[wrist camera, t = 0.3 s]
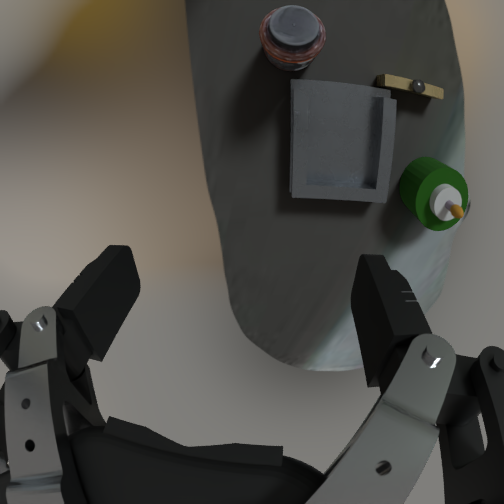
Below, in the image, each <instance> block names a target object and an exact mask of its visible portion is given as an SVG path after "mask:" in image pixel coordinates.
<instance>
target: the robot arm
mask: <svg viewBox="0 0 504 504" xmlns="http://www.w3.org/2000/svg"><path fill="white" fill-rule="evenodd" d="M139 293H140V279H139V275H138V272H137V268H136V265H135V261H134V258H133V254H132V251H131V248H130V247H129V246H124V245H109V246H108V247H107V248H106V249H105V250H104V251H103V252H102V253H101V254H100V256H99V257H98V258H97V259H95V260H94V261H92V262H91V263H89V264H88V265H87V266H86V267H85V268H84V270H82V272H81V273H80V276H79V275H78V276H77V277H76V279H75V280H74V283H71V284H70V286H69V287H68V288H67V289H66V290H65V292H64V293H63V294H62V295H61V297H60V298H59V299H58V300H57V302H56V303H55V304H54V306H53V307H48V306H45V307H40V308H37V309H35V310H33V311H32V312H31V313H30V314H28V316H27V317H26V318H25V320H24V321H23V322H13V320H12V319H11V317H10V315H9V314H8V312H7V311H5V310H0V358H1V360H2V361H3V362H4V364H6V366H7V367H8V368H9V370H10V371H8V372H7V373H6V377H5V382H4V384H3V386H2V388H1V390H0V504H404V502H405V500H406V499H407V497H408V496H409V494H410V492H411V490H412V489H413V487H414V485H415V483H416V482H417V480H418V478H419V476H420V474H421V472H422V470H423V468H424V467H425V465H426V463H427V461H428V458H429V457H430V454H431V452H432V450H433V448H434V445H435V443H436V441H437V438H438V437H439V444H440V451H441V459H442V467H443V479H444V494H445V504H504V350H502V349H500V348H499V347H495V346H489V347H486V348H485V349H483V351H482V352H481V353H480V355H479V356H478V358H473V357H466V356H461V355H457V354H455V351H454V349H453V348H452V346H451V345H450V344H449V343H448V342H447V341H446V340H445V339H444V338H442V337H440V336H437V335H434V334H432V332H431V330H430V327H429V325H428V323H427V321H426V318H425V316H424V314H423V312H422V309H421V307H420V305H419V303H418V302H417V301H416V300H417V299H416V297H415V295H414V293H412V289H411V287H410V285H409V283H408V281H407V279H405V278H404V277H403V276H402V275H401V274H400V273H399V272H398V271H397V270H391V269H390V267H389V265H388V263H387V261H386V259H385V257H384V256H383V255H370V254H362V255H361V256H360V258H359V261H358V266H357V270H356V275H355V279H354V283H353V288H352V292H351V309H352V314H353V318H354V322H355V327H356V331H357V336H358V340H359V345H360V350H361V355H362V360H363V365H364V370H365V375H366V381H367V386H368V387H380V392H381V395H380V396H379V398H378V399H377V401H376V403H375V404H374V406H373V408H372V409H371V411H370V412H369V414H368V415H367V417H366V418H365V420H364V421H363V423H362V425H361V426H360V427H359V429H358V430H357V432H356V433H355V435H354V436H353V437H352V439H351V440H350V442H349V443H348V444H347V445H346V447H345V448H344V449H343V450H342V452H341V453H340V454H339V455H338V457H337V458H336V459H335V460H334V462H333V463H332V464H331V465H330V466H329V468H328V469H327V470H326V471H325V472H324V474H323V473H321V472H320V471H318V470H317V469H315V468H314V467H312V466H310V465H308V464H306V463H304V462H302V461H299V460H297V459H294V458H291V457H287V456H283V446H265V445H250V444H239V443H232V444H223V445H213V446H212V445H211V446H196V447H187V446H183V445H180V444H178V443H176V442H174V441H172V440H170V439H168V438H166V437H164V436H162V435H160V434H158V433H156V432H154V431H152V430H150V429H149V428H147V427H144V426H140V425H137V424H133V423H130V422H126V421H123V420H120V419H117V418H114V417H111V416H109V418H108V420H107V423H106V422H105V421H104V419H103V417H102V415H101V413H100V411H99V408H98V404H97V400H96V396H95V391H94V387H93V383H92V378H91V373H90V368H89V366H88V365H87V362H88V360H89V358H90V359H93V360H97V361H101V362H102V361H103V359H104V357H105V355H106V353H107V351H108V349H109V347H110V345H111V344H112V342H113V340H114V338H115V336H116V334H117V333H118V331H119V329H120V327H121V325H122V323H123V322H124V320H125V318H126V317H127V315H128V313H129V311H130V310H131V308H132V306H133V304H134V303H135V301H136V299H137V297H138V296H139ZM480 413H482V417H483V421H484V425H485V430H486V434H487V440H488V443H487V448H486V450H484V444H483V439H482V434H481V430H480V425H479V421H478V417H477V416H478V415H479V414H480ZM435 423H436V425H437V426H435ZM8 461H9V464H7V462H8Z"/></svg>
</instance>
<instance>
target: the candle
mask: <svg viewBox="0 0 504 504" xmlns="http://www.w3.org/2000/svg"><path fill="white" fill-rule="evenodd" d="M399 191H400V196H401V199H402V201H403V203H404V204H405V206H406V207H407V208H408V209H409V210H410V211H411V212H412V213H413V214H414V215H415V216H416V217H417V218H418V219H419V221H420V222H421V223H422V224H423V225H424V226H425V227H427V228H428V229H431V230H434V231H442V230H446V229H448V228H450V227H452V226H453V225H455V224H456V223H457V222H458V221H459V220H460V218H462V217H463V214H464V212H465V209H466V206H467V203H468V188H467V184H466V182H465V180H464V178H463V177H462V175H461V174H460V173H459V172H458V171H456V170H454V169H452V168H450V167H449V166H447V165H445V164H443V163H441V162H439V161H438V160H436V159H434V158H430V157H421V158H418V159H416V160H414V161H412V162H411V163H410V164H409V165H408V166H407V167H406V168H405V170H404V172H403V174H402V176H401V179H400V188H399Z"/></svg>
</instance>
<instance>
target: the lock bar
mask: <svg viewBox="0 0 504 504" xmlns="http://www.w3.org/2000/svg"><path fill="white" fill-rule="evenodd" d="M377 86H379V87H385V88H390V89H395V90H400V91H404V92H409V93H413V94H417V95H421V96H425V97H429V98H434V99H443V88H439V87H436V86H433V85H429V84H426V83H423V81H421V80H410V79H406V78H402V77H397V76H393V75H388V74H382V75H377Z"/></svg>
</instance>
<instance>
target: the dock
mask: <svg viewBox="0 0 504 504" xmlns="http://www.w3.org/2000/svg"><path fill="white" fill-rule="evenodd" d="M290 83H291V130H290V184H289V192H291V194H292V198H316V199H335V200H351V201H365V202H378V203H386V201H387V194H388V188H389V181H390V173H391V165H392V157H393V147H394V136H395V123H396V104H397V100H395V99H390V97H391V90H387V89H381V88H375V87H369V86H363V85H356V84H348V83H339V82H329V81H318V80H301V79H291V80H290Z"/></svg>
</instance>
